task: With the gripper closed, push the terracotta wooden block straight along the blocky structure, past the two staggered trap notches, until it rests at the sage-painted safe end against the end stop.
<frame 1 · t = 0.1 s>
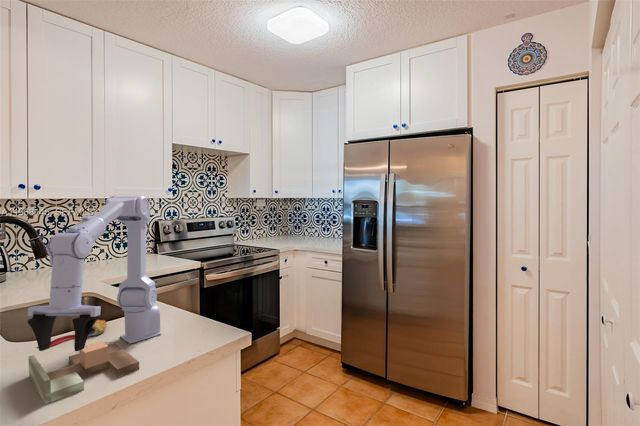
hand: (61, 349, 75), 11 cm above the worktop, tool pointing down, fingers open, 7 cm apart
block: (94, 361, 87), point 2 cm above the worktop, touching blocky structure
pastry: (93, 332, 110), on the worktop, touching cayenne pepper
blocky structure: (85, 372, 86), on the worktop
cayenne pepper: (60, 344, 103), on the worktop, touching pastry
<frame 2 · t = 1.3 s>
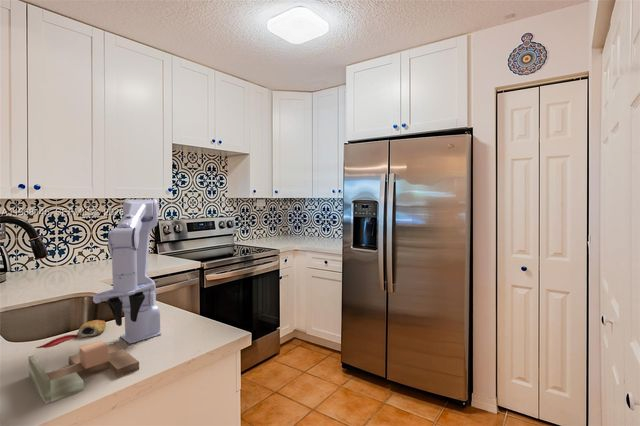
hand: (126, 322, 92), 10 cm above the worktop, tool pointing down, fingers open, 3 cm apart
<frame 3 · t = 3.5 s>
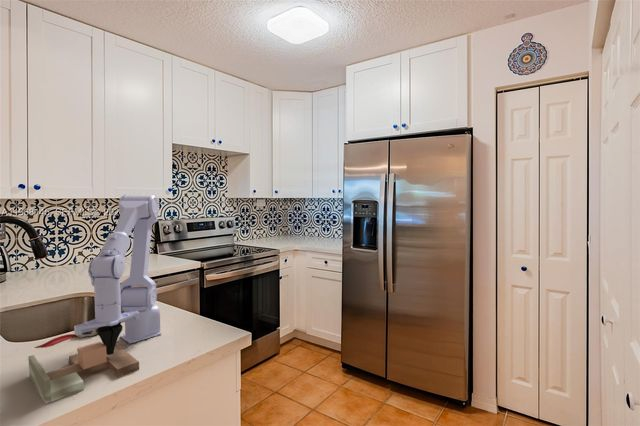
hand: (109, 353, 90), 3 cm above the worktop, tool pointing down, fingers closed
block: (92, 362, 87), point 2 cm above the worktop, touching gripper
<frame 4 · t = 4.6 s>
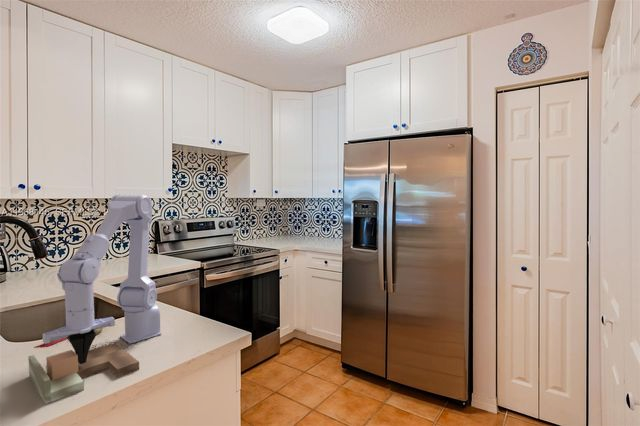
hand: (81, 361, 85), 3 cm above the worktop, tool pointing down, fingers closed
block: (62, 372, 82), point 2 cm above the worktop, touching gripper
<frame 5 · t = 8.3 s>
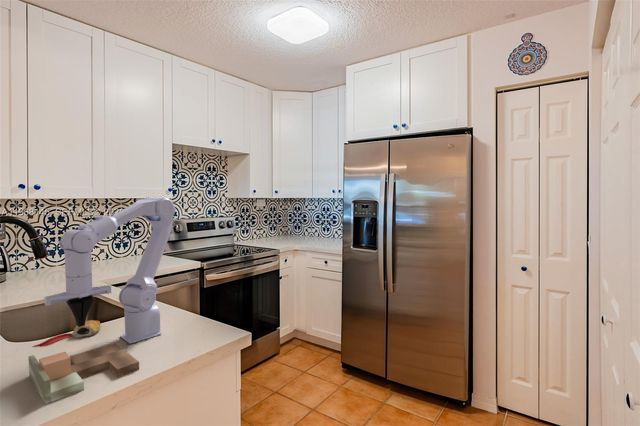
hand: (80, 325, 92), 9 cm above the worktop, tool pointing down, fingers closed
block: (55, 374, 81), point 2 cm above the worktop, touching blocky structure
cayenne pepper: (55, 343, 104), on the worktop, touching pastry
at the end: block 0.5 cm from the target spot, point 2.0 cm above the worktop; block tilted 0°; block touching blocky structure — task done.
